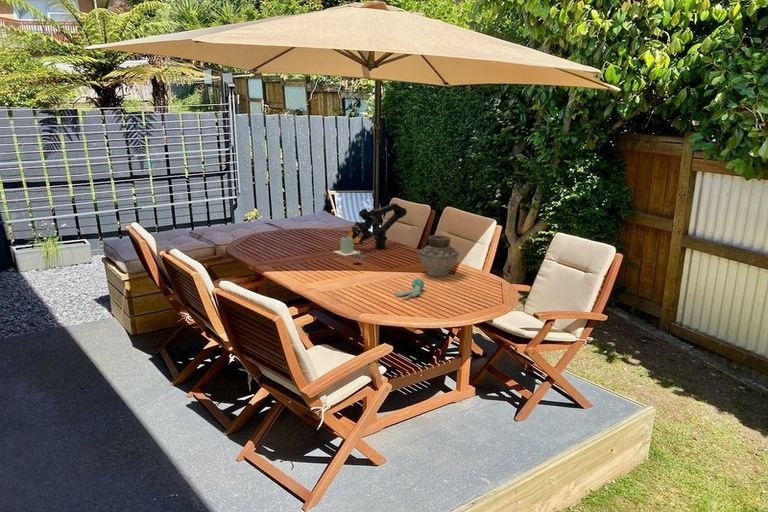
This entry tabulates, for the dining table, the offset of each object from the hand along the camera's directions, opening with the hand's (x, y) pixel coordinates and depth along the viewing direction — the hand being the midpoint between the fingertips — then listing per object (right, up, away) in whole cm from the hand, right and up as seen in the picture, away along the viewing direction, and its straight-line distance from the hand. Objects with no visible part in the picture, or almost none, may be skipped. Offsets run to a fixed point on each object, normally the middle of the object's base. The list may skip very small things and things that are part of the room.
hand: (355, 241), depth 421 cm
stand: (+3, -12, -13) cm, 18 cm away
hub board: (-6, -9, -2) cm, 11 cm away
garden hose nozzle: (+36, -33, -87) cm, 100 cm away
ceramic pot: (+55, -22, -48) cm, 76 cm away
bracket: (-1, 0, +33) cm, 33 cm away
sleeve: (-6, -8, -3) cm, 10 cm away
